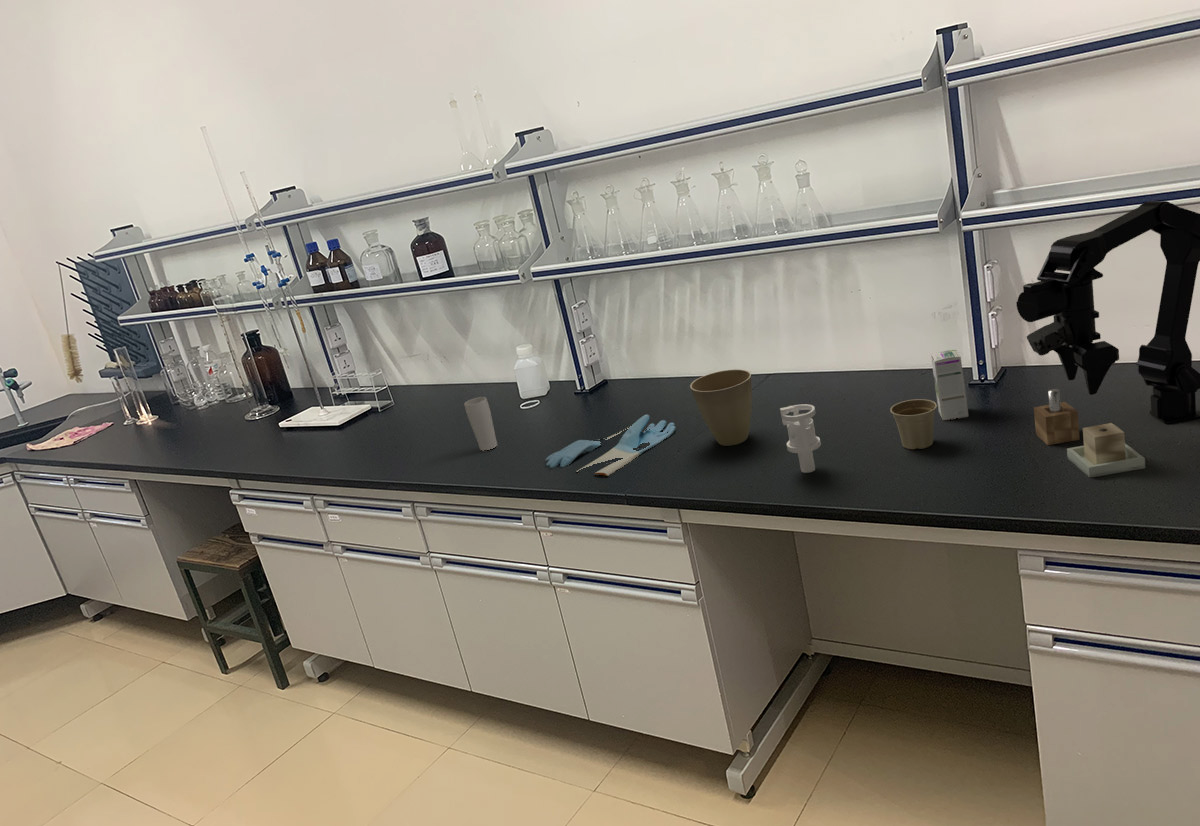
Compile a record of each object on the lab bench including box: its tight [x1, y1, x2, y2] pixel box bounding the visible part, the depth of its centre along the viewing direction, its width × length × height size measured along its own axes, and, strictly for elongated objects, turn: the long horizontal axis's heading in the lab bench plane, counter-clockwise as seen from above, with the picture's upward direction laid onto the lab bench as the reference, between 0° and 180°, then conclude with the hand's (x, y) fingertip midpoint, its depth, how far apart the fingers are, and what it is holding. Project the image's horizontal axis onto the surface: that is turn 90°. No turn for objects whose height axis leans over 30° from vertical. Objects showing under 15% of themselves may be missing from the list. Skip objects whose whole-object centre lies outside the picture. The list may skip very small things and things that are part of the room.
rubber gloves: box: [544, 414, 677, 477], centre depth 230 cm, size 27×33×6 cm
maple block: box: [1082, 422, 1126, 465], centre depth 158 cm, size 5×5×6 cm
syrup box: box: [930, 349, 969, 421], centre depth 195 cm, size 6×6×14 cm
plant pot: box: [689, 368, 753, 447], centre depth 212 cm, size 15×15×16 cm
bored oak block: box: [1033, 401, 1080, 446], centre depth 173 cm, size 6×6×6 cm
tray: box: [1066, 443, 1146, 478], centre depth 159 cm, size 9×9×2 cm
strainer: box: [779, 403, 822, 474], centre depth 185 cm, size 7×7×15 cm
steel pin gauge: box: [1047, 388, 1061, 413], centre depth 172 cm, size 2×2×10 cm
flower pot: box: [889, 398, 938, 450], centre depth 185 cm, size 9×9×9 cm
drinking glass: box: [463, 396, 498, 452], centre depth 251 cm, size 7×7×15 cm
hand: (1081, 386), depth 163 cm, fingers open, 9 cm apart
